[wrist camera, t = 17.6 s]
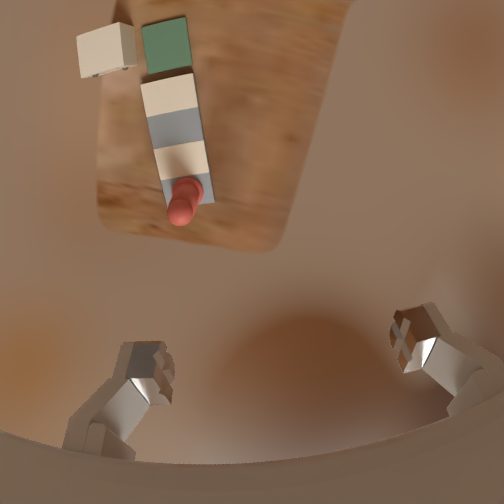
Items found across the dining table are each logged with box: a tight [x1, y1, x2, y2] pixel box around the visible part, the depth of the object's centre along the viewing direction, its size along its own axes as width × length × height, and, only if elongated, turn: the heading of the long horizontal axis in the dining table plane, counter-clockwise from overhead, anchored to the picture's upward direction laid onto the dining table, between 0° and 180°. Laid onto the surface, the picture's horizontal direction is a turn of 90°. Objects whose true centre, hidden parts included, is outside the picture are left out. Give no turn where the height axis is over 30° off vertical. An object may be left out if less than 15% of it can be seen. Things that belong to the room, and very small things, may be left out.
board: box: [141, 73, 215, 207], centre depth 34 cm, size 16×6×1 cm, turn 6°
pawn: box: [167, 177, 204, 226], centre depth 34 cm, size 4×4×7 cm
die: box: [76, 22, 138, 78], centre depth 25 cm, size 6×5×5 cm
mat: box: [142, 17, 193, 74], centre depth 27 cm, size 6×5×1 cm
